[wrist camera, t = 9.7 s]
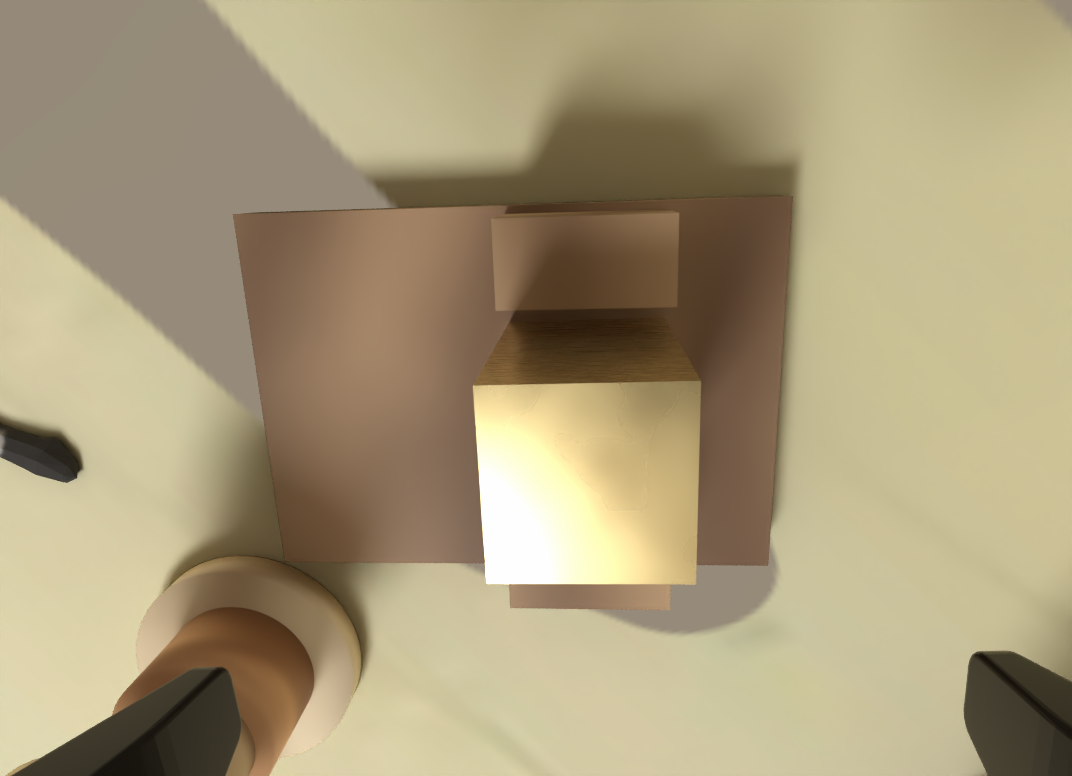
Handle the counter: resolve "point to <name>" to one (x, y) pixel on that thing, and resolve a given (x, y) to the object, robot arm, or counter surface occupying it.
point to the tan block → (589, 454)
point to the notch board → (466, 344)
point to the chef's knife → (38, 454)
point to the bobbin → (254, 653)
